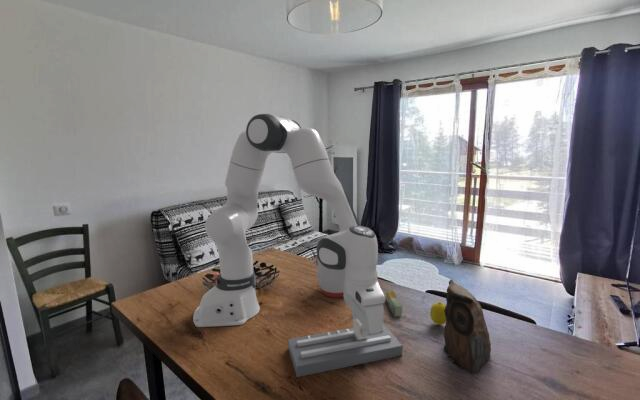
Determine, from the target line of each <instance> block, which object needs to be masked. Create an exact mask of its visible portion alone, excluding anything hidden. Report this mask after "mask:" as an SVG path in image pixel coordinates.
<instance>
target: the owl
mask: <svg viewBox="0 0 640 400" xmlns="http://www.w3.org/2000/svg"><path fill="white" fill-rule="evenodd" d="M446 292H447V293H446V297H445V298H446V299H445V300H446V304H445V306H446V307H445V310H444V312H445V316H446V323H445V324H444V328H443V339H444V344H445V345H444V348H443V351H444V352H445V353H446V354H447V357H448V359H450V360H451V361H452V364H453V365H455V366H456V367H457V368H459V369H462V370H464V371H466V372H468V373H469V374H471V375H474V374H477V373H478V372H479V370H480V369H482V367H483V366H484V364H485V363H488V361H489V359H490V358H491V352H492V347H491V345H492V343H491V340H490V338H491V337H490V333H489V329H488V326H487V323H486V320H485V315H484V312H483V308H482V306H481V304H480V302H479V301H478V300H477V298H476V297H475V295H473V294H472V293H471V292H470V291H469V290H468V289H467V288H465V287H464V286H462V285H461V284H458V283H457V282H456V281H454V280H453V279H450V280H449V281H448V286H447V288H446Z"/></svg>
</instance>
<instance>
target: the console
mask: <svg viewBox="0 0 640 400" xmlns="http://www.w3.org/2000/svg"><path fill="white" fill-rule="evenodd" d="M287 342H288V343H287V344H288V346H287V347H288V351H289V355H290V358H291V363H292V365H293V370H294V372H295V376H296V378H300V377H305V376H309V375H315V374H319V373H324V372H328V371H333V370H338V369H343V368H347V367H351V366H352V367H353V366H357V365H362V364H366V363H371V362H376V361H381V360H386V359H390V358H396V357H400V356H403V345H402V343H401V342H400V341H399V340H398V339H397V338H396V336H395V335H394V334H393V333H392V331H390V329H389V328H388V327H387V326H386V325H385V323H383V329H382V331H381V332H380V333H376V334H368V338H367V339H366V340H361V341H356V339H355V338H354V333H353V327H351V328H346V329H340V330H338V329H337V330H334V331H327V332H322V333H317V334H309V335H306V336H300V337H293V338H288V339H287Z"/></svg>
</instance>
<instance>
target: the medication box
mask: <svg viewBox="0 0 640 400" xmlns="http://www.w3.org/2000/svg"><path fill="white" fill-rule="evenodd" d="M385 294H386V295H385V302H386V303H387V305H388V308H389V309H390V311H391V313H392V315H393V317H394V318H395V317H396V318H397V317H402V315H403V314H402V311H403V306H402V304H401V302H400V300H399V299H398V297H397V295H396V294H395V292H394V291H393V290H386V293H385Z"/></svg>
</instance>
